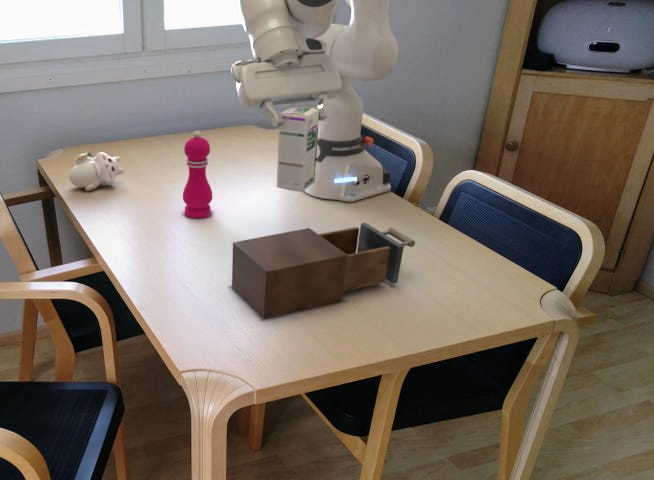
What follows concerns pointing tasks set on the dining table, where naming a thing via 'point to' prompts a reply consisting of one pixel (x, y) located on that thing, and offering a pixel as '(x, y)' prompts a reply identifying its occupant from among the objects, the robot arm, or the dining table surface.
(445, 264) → the dining table surface
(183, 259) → the dining table surface
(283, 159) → the syrup box
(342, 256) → the cabinet
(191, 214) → the pepper mill
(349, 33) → the robot arm
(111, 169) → the cat figurine
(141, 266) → the dining table surface
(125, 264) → the dining table surface
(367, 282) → the drawer
